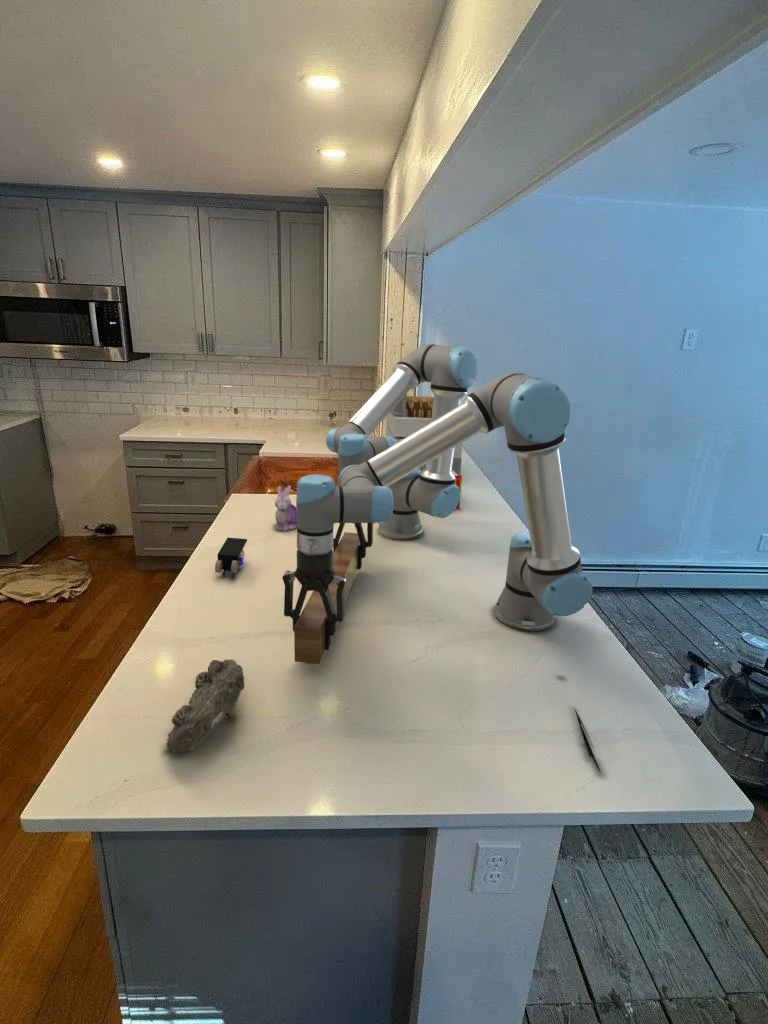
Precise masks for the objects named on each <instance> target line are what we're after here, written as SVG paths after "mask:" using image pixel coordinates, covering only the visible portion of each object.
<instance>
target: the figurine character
mask: <svg viewBox="0 0 768 1024" xmlns="http://www.w3.org/2000/svg"><path fill="white" fill-rule="evenodd" d="M247 542H248V538H240V537H226V539H225V541H224V543H223V544H222V546H221V547H220V549H219V551H218V552H217V560H216V562H215V564H214V572H215V573H221V577H222V578H224V577H225V576H226V574H227V573H230V574H231V573H232V574H231V578H234V577H235V575H236V573H237V572H239V571H240V567H242V566H243V565H244V564H245V562H244V558H245V551H244V547H245V546H246V544H247Z"/></svg>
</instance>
